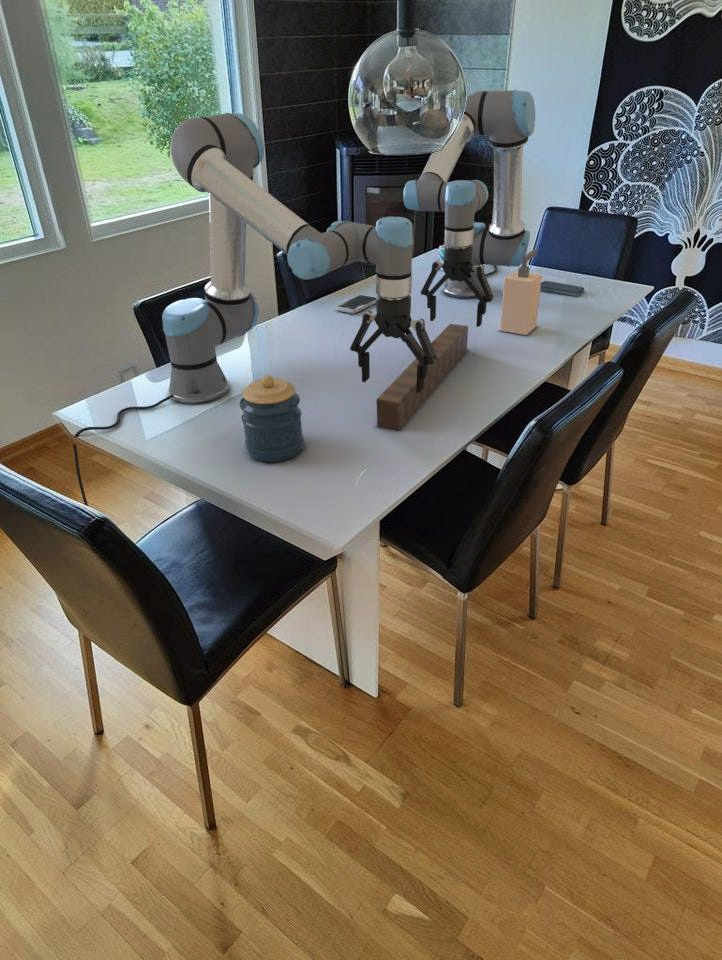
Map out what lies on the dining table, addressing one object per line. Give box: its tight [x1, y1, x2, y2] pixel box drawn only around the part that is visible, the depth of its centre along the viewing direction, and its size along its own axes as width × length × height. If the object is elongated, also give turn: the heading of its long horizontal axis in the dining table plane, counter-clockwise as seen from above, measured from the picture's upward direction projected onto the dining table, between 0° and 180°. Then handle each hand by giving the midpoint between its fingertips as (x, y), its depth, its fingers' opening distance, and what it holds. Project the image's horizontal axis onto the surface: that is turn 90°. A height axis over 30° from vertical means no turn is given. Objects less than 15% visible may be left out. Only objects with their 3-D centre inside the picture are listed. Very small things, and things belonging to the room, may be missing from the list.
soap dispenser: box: [499, 249, 543, 336], centre depth 204 cm, size 13×9×22 cm
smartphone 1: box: [335, 294, 376, 314], centre depth 231 cm, size 8×1×15 cm
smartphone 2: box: [540, 280, 585, 297], centre depth 238 cm, size 8×2×15 cm
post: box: [376, 323, 469, 432], centre depth 175 cm, size 52×5×7 cm, turn 155°
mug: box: [438, 244, 446, 272], centre depth 266 cm, size 8×12×8 cm
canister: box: [239, 374, 305, 463], centre depth 146 cm, size 13×13×18 cm
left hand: (392, 385), depth 155 cm, fingers open, 13 cm apart
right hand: (455, 322), depth 189 cm, fingers open, 13 cm apart
